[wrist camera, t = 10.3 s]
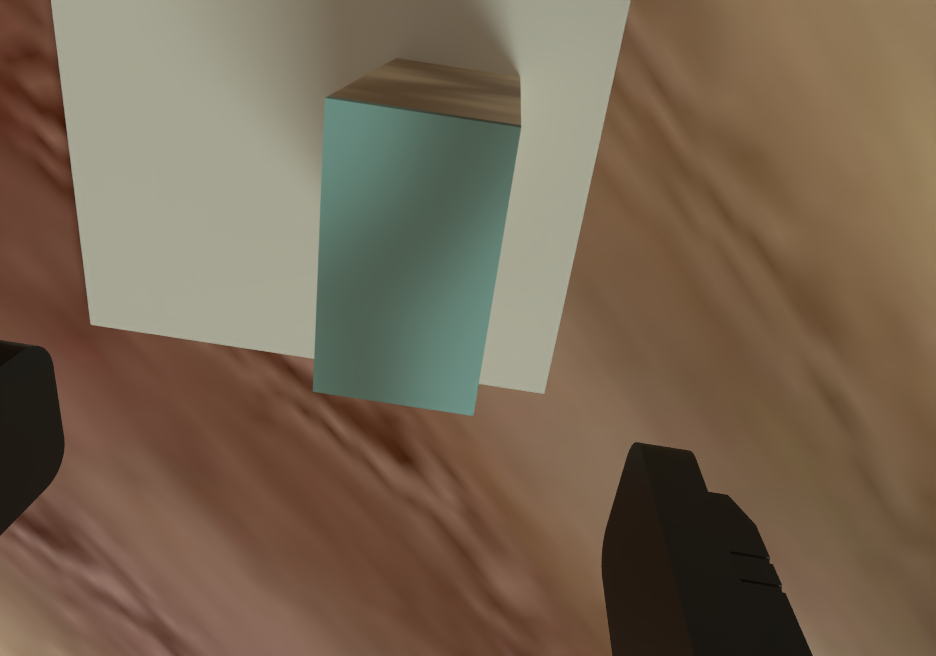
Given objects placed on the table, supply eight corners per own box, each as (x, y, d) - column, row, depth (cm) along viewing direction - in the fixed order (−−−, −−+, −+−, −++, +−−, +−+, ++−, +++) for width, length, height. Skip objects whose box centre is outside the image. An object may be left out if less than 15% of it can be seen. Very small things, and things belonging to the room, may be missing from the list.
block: (520, 76, 22) (521, 127, 14) (488, 278, 25) (473, 415, 17) (396, 58, 22) (324, 97, 14) (379, 262, 25) (312, 391, 17)
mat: (643, -71, 20) (646, -73, 20) (543, 385, 28) (544, 393, 27) (42, -164, 20) (30, -167, 20) (99, 318, 28) (90, 324, 27)
